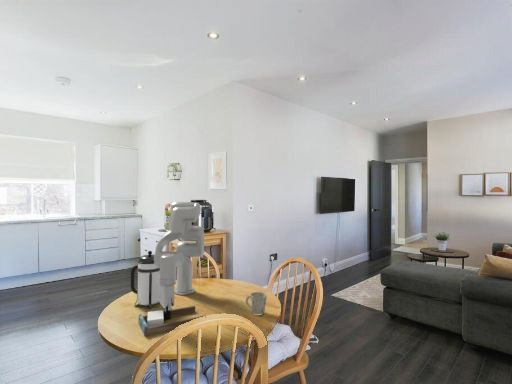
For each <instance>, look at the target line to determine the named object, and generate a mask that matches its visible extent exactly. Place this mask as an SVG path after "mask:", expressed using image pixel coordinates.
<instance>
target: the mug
mask: <svg viewBox="0 0 512 384" xmlns="http://www.w3.org/2000/svg"><path fill="white" fill-rule="evenodd" d="M267 297H268V296H267V293H265V292H261V291H256V292H251V294H250V295H247V297H246V298H245V304H246V306H248V308H249V309H251V310H252V314H253V313H254V314H263V313H264V314H265V312H266V311H265V310H266V305H267ZM249 299H250V301H251V305H250V304H249Z"/></svg>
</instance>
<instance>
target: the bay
mask: <svg viewBox="0 0 512 384" xmlns="http://www.w3.org/2000/svg"><path fill="white" fill-rule="evenodd" d="M193 313H196V305H190V306H187V307H180V308H176V309H172V310H171V318H173V317H177V316H181V315H182V316H183V315H186V314H187V315H188V314H193ZM203 316H205V317H206V314H205V315H200V316H195V317H191V318H185V319H182V320H177V321H172V322H168V323H163V324H162V325H158V326H153V327H149V328H148V326H147V318H148V314H145V315H143V314H142V313H139V314H138V325H139V328H140V329H141V332H142V333H143V337H147V336H152V335H156V334H160V332H161V333H165V332H169V331H173V329H174V330H176V329H175V328H176V327H178V326H179V325H181V324H184V323H186V322H189V321H191V320H193V319H196V318H199V317H203ZM164 331H165V332H164Z"/></svg>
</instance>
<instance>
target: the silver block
mask: <svg viewBox="0 0 512 384" xmlns="http://www.w3.org/2000/svg"><path fill="white" fill-rule="evenodd" d="M163 311H164V310H162V309H161V310H154V311H153V310H151V311H147V315H148V318H147V322H146V324H147V326H148V328H149V327H153V326H158V325H162V324H164V317H163Z"/></svg>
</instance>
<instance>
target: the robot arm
mask: <svg viewBox="0 0 512 384" xmlns="http://www.w3.org/2000/svg"><path fill="white" fill-rule="evenodd" d="M201 210H202V208H201V204H200V203H199V202H191V201H190V202H189V201H187V202H185V201H176V202H173V203H171V205H170V211H171V212H170V217H169V224H168V229H167V232H166V233H165V234H164V235H163V236H162V237H161V238H160V239H159V241H158V242H157V244H156V246H155V251H154V254H153V255H154V263H155V265H156V266H160V296H159V302H158V303H159V304H160V305H161V306H162V307H163V317H164V321H168V320H169V321H170V320H171V319H172V317H171V310H173V309H172V307H174V306H175V295H178V296H179V295H181V296H183V295H184V296H185V295H186V296H187V295H190V294H193V293H194V292H195V291H196V290H195V288H194V287H193V270H194V268H193V267H194V265H193V262H192V259H190V258H201V257H203V256H204V255H205V231H204V228H203V227H202V226H201V225H192V223H197V221H198V220H199V217H200V215H201ZM178 239H179V241H180V242H178V244H177V245H176V246H175V249H176V251H174V250H173V251H172V250H171V251H170V250H169V251H166V250H163V249H164V247H165V246H167V245H168V244H170V243H171V242H173V241H176V240H178ZM175 285H176V288H175Z"/></svg>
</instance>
